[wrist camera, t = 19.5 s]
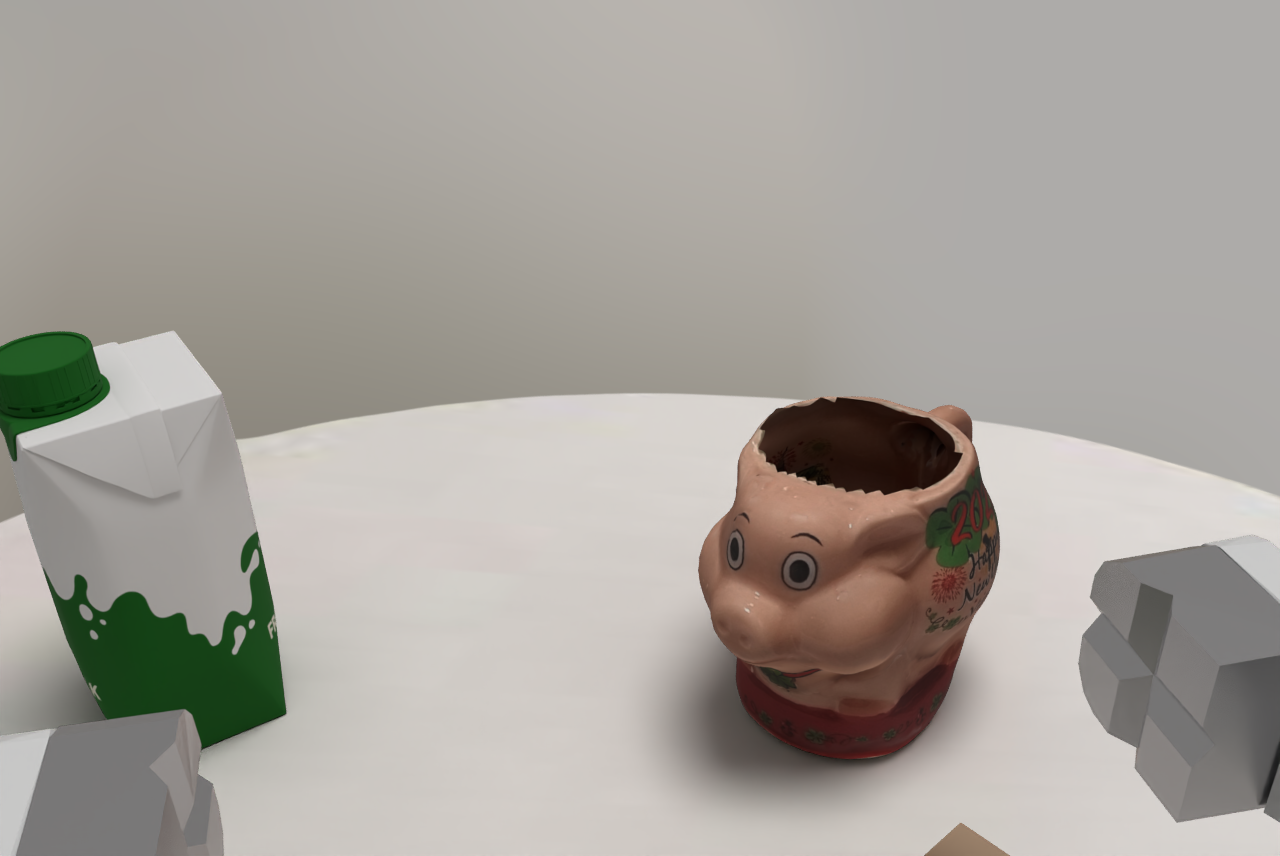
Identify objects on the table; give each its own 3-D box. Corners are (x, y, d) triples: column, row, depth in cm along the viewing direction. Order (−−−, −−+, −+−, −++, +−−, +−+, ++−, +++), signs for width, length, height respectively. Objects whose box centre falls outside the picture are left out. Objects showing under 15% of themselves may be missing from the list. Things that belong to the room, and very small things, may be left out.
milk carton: (80, 688, 62) (-41, 329, 52) (257, 622, 66) (176, 278, 56) (122, 797, 55) (-8, 412, 45) (314, 716, 59) (234, 347, 49)
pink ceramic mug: (832, 537, 71) (846, 320, 64) (1040, 608, 65) (1080, 376, 58) (639, 748, 57) (629, 499, 50) (880, 864, 51) (908, 598, 44)
